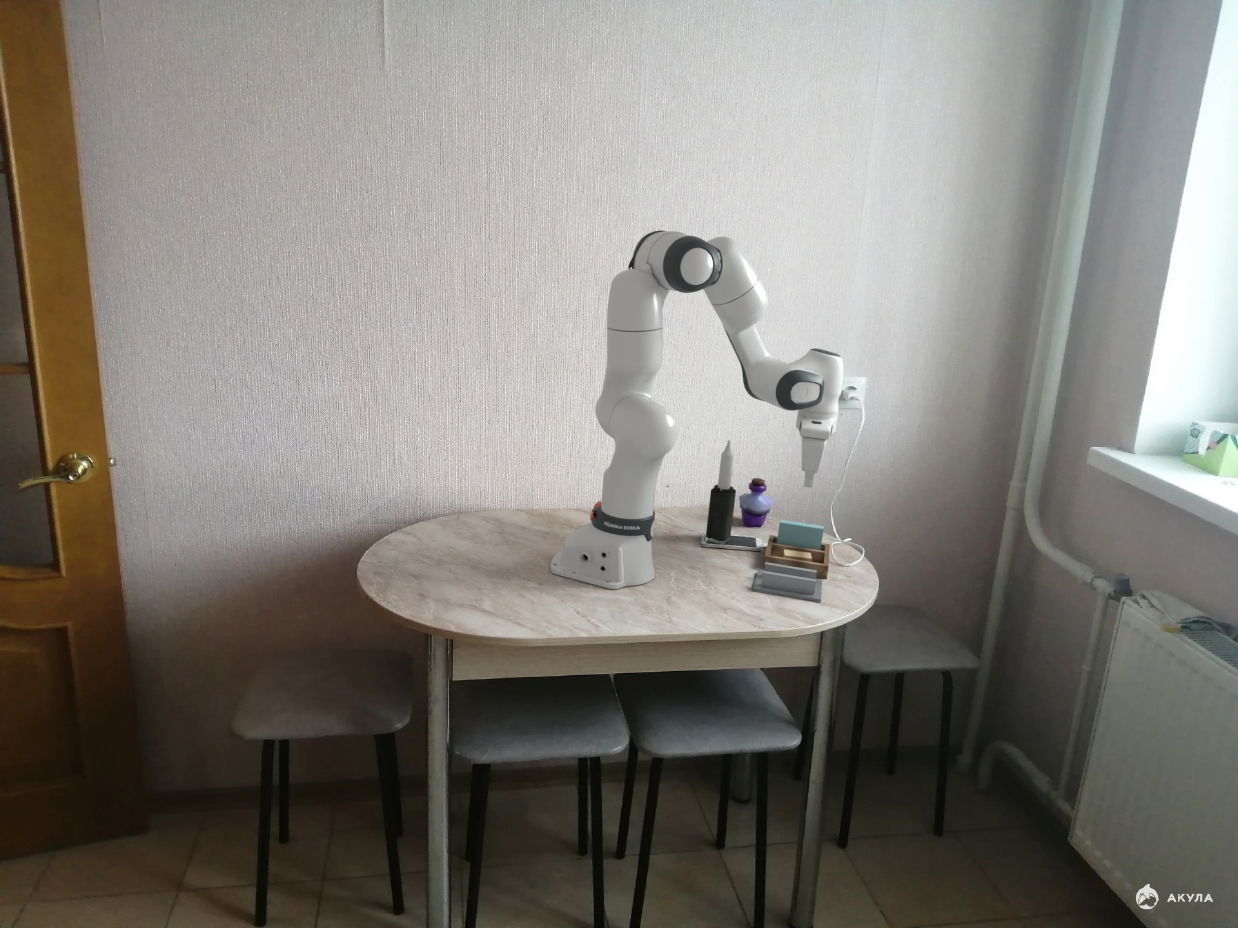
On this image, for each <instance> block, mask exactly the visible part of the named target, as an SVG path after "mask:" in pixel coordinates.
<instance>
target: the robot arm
mask: <svg viewBox="0 0 1238 928" xmlns="http://www.w3.org/2000/svg"><path fill="white" fill-rule="evenodd" d="M702 290H703V292H704V293H705V295H706V297H707V299H708V301H709V303H710V305H711V306H712V308H713V310H714V311H715V314H716V315H717V316H718V318H719V320H720V322H721V324H722V326H723V329H724V332H725V333H726V336H727V338H728V340H729V342H730V344H731V348H733V350H734V353H735V356H736V357H737V360H738V362H739V364H740V368H741V372H742V375H741V376H742V381H743V382H742V383H743V386H744V390H745V391H746V393H747V394H748V395H749V396H750V397H752V398H753V399H755V400H759V401H762V402H766V403H768V404H770V405H772V406H775V407H778V408H780V409H782V410H785V411H792V412H793V411H797V413H796V414H797V416H796V422H795V424H796V425H795V427H796V429H798V431H799V435H800V437H801V469H802V472H804V483H803V486H804V488H809V489H811V488H813V483H814V478H815V475H816V474H817V473H819V472H820V471H819V470H820V468H821V465H822V461H823V458H824V454H825V453H824V452H825V449H826V446H827V442H828V440H830V438H831V436H832V435H833V434H834V433H836V431H837V426H838V425H837V424H838V420H839V411H840V410H839V409H840V407H839V400H840V399H839V398H840V397H841V394H842V392H843V391H842V389H843V383H844V382H843V381H844V367H845V366H844V361H843V357H842V356H841V355H839V354H838V353H835V352H833V351H829V350H826V349H821V348H810V349H809V350H808V351H807V353H806V354H805V355H803V356H802V357H800V358H798V359H796V360H794V361H792V362H789V363H788V362H785V361H783V360H780V359H778V358H776V357H774V356H773V355H772V354H770V353H769V352H768V351H767V350H766V347H765V345H764V343H763V341H762V339H761V336H760V334H759V331H758V329H757V327H756V324H757V323H758V322H759V321H761V319H762V318H763V317H764V315H765V314H766V311H767V309H768V308H769V298H768V294H767V291H766V288H765V286H764V283H763V281H762V279H761V277H760V275H759V274H758V272H757V270H756V268H755V267H754V265H753V264H752V262H751V259H749V257H748V256H747V255H746V253H745V252H744V250H743V249H742V248H741V246H739V244H738V243H737V242H736V241H735V240H734V239H732V238H731V237H727V236H718V237H714V238H711V239H709V240H707V241H706V240H704V239H703V238H701V237H698V236H694V235H689V234H686V233H683V232H680V231H673V230H653V231H651V232H649V233H647V234H645V235H644V236H642V238H640V239H639V241H638V242H637V243H636V246H635V248H634V251H633V253H632V257H631V259H630V261H629V264H628V269H625V270H623V271H621V272H619V273H618V274H616V275H615V276H614V277H613V279H612V281H611V284H610V290H609V293H608V300H607V301H608V302H607V309H606V311H607V312H606V313H607V314H606V367H605V374H604V380H603V385H602V389H601V394H600V396H599V397H598V399H597V400H596V404H595V408H594V411H595V417H596V420H597V421H598V424H599V426H600V427H601V429H602V430H603V432H604V433H605V434H607V435H608V436H610V438H612V439H613V440H614V445H615V447H614V451H613V456H612V458H611V461H610V465H609V466H608V467H607V468H606V469H605V470H604V472H603V478H602V479H603V480H602V489H601V490H602V491H601V493H602V494H601V501H600V500H598V501H597V502H596V503H595V504H594V505H593V508H592V510H591V513H590V516H589V520H590V522H589V523H587V524H585V525H583V526H582V527H579V528H577V529H576V530H574V531H573V532H572V533H570V534H569V535H568V537H566V540H565V542H564V544H563V547H562V550H560V551H559V552H557V553H556V554H555V555H554V556H553V557H552V559H551V561H550V565H549V570H550V572H551V573H552V574H554V575H557V576H560V577H565V578H568V579H573V580H576V581H580V582H583V583H588V584H591V585H593V586H594V585H595V586H599V587H601V588H606V589H610V590H618V589H621V588H624V587H628V586H629V587H630V586H639V585H642V584H643V585H644V584H647V583H649V582H650V581H652V580H653V579H654V578H655V576H656V571H655V566H654V557H653V546H652V545H653V539H654V538H653V537H654V535H655V527H656V526H655V525H656V519H655V518H656V512H655V510H654V508H655V507H654V506H655V497H656V489H657V488H656V487H657V481H658V476H659V472H660V470H661V466H662V463H663V461H664V459H665V456H666V455H667V454H669V452H670V451H671V450H672V449H673V447H674V446H675V444H676V442H677V439H678V426H677V423H676V421H675V420H674V418H673V417H672V415H671V414H670V413H669V411H668V410H667V409H666V408H665V407H664V406H663V405H661V404H660V403H658V402H656V401H654V399H653V388H654V387H653V386H654V383H655V379H656V376H657V374H658V373H659V371H660V370H661V368H662V367H663V345H664V344H663V341H664V339H663V338H664V337H663V332H664V329H663V327H664V324H663V321H664V317H663V315H664V314H663V309H664V304H665V301H666V298H667V296H668V294H669V293H670V291H673V292H679V293H684V294H692V293H696V292H700V291H702Z"/></svg>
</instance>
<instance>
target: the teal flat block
mask: <svg viewBox="0 0 1238 928" xmlns="http://www.w3.org/2000/svg"><path fill="white" fill-rule="evenodd" d="M824 529H825V526H824V525H818V524H812V523H811V524H810V523H805V522H798V521H792V520H786V519H780V520H779V525H778V533H777V536H778V538H777V544H783V545H789V546H796V547H802V548H808V549H815V550H820V549H821V543H823V535H824Z"/></svg>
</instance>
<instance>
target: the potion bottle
mask: <svg viewBox="0 0 1238 928" xmlns="http://www.w3.org/2000/svg"><path fill="white" fill-rule="evenodd" d="M767 488H768V487H767V484H766V481H765V479H762V478H758V477H754V478H752V479H751V482H750V483H748V489H749V490H750V493H743V494H741V495H739V496H738V499H739V501H738V502H739V509H741V511H740V512H741V520H742V521H741V523H742V522H743V523H744V525H747V526H750V527H761V526H762V525H763V526H764V524H765V521H766V519H767V516H768V514H769V513H770V511H771V508H772V505H773V503H774V501H773V499H772V498H771V497H770V496H767V495H763V494H764V492H766V491H767ZM744 525H743V526H744ZM747 526H746V527H747ZM750 527H749V528H750ZM761 528H762V527H761Z"/></svg>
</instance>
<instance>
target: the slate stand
mask: <svg viewBox="0 0 1238 928" xmlns="http://www.w3.org/2000/svg"><path fill="white" fill-rule="evenodd" d="M816 574H817V571H816V570H810V569H804V568H798V567H792V566H786V565H779V564H773V563H767V562H765V569H763V570H760V569H758V570H757V573H756V577H755V580H754V585H753V587H752V588H753V589H752V591H753V592H759V593H764V594H769V595H776V596H782V597H787V598H792V599H799V600H803V601H804V600H805V601H809V602H810V601H811V602H816V603H821V601H822V590H823V580H821V579H820V580H818V579H817V577H816Z"/></svg>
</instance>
